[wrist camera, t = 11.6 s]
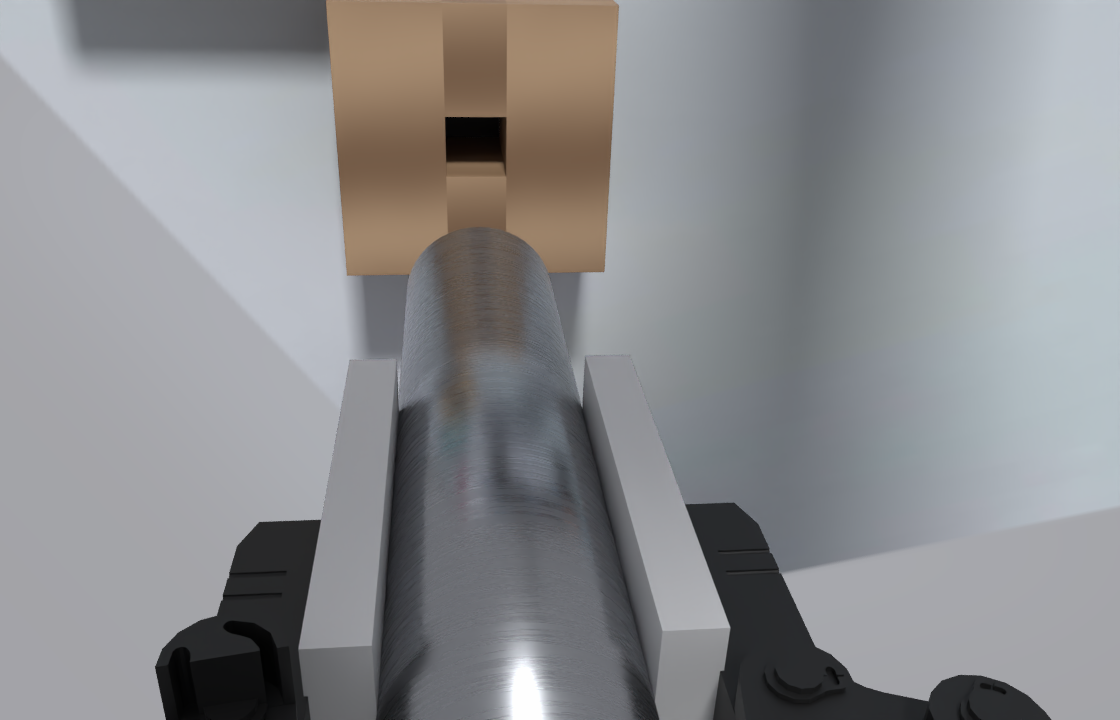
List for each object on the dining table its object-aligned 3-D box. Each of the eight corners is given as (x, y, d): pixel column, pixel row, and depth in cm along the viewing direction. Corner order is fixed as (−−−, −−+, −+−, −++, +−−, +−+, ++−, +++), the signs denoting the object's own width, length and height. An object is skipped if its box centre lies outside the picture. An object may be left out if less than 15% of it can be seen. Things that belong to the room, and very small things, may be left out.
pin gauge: (404, 226, 21) (352, 780, 9) (553, 227, 21) (709, 758, 9) (408, 360, 22) (369, 995, 10) (548, 358, 23) (676, 970, 10)
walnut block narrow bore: (340, -20, 34) (326, 1, 30) (596, -16, 35) (618, 5, 31) (357, 225, 38) (347, 275, 34) (586, 223, 39) (604, 271, 35)
